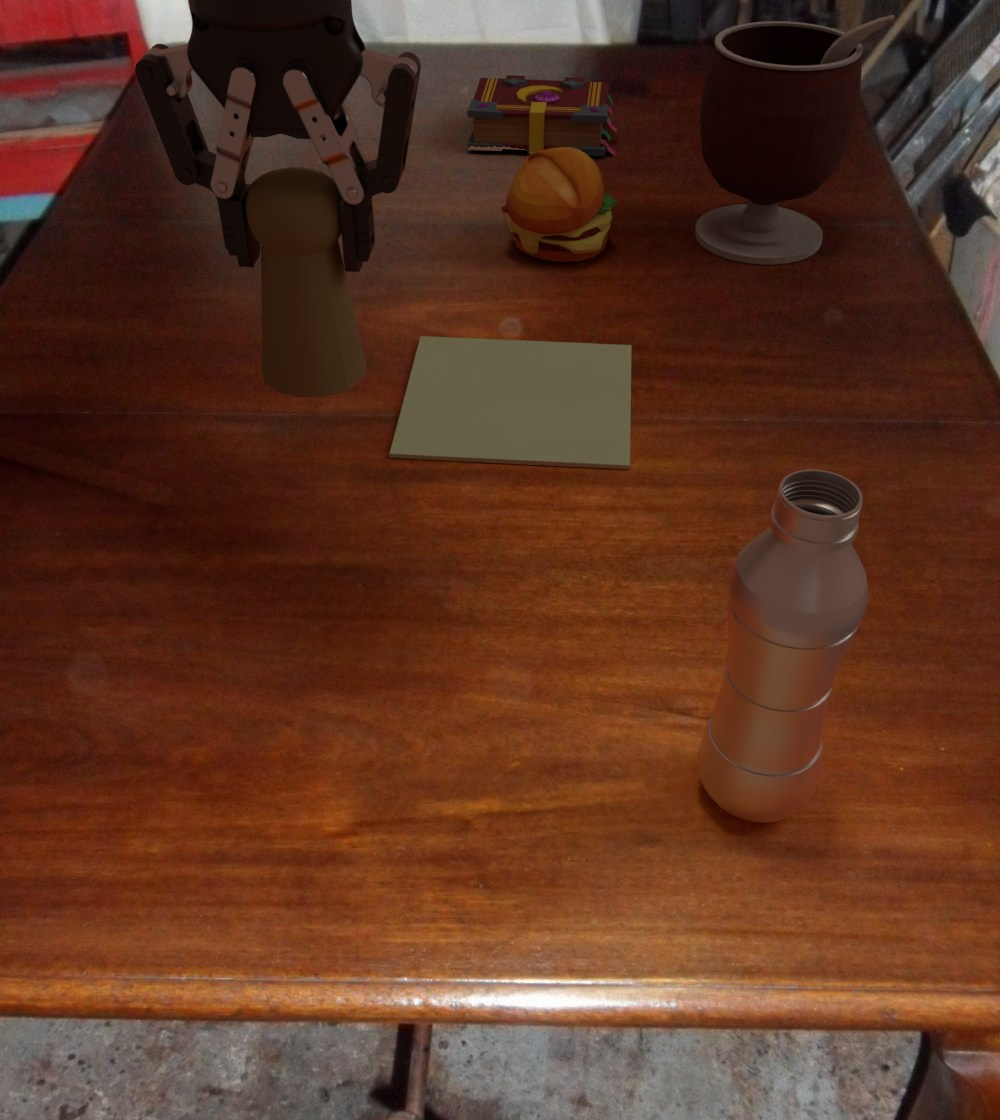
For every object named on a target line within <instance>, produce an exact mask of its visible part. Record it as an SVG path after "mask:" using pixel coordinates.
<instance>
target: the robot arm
mask: <svg viewBox="0 0 1000 1120" xmlns="http://www.w3.org/2000/svg"><path fill="white" fill-rule="evenodd" d="M187 2H188V8H189V11H190V12H189V13H190V16H191V33H190V36H189V39H188V41H187V43H185V44H181V45H177V46H172V47H169V46H168V45H166V44H164V43H155V44H154V45H152V47H151V48H149V49H148V50H147V51H146V52H144V54H143V55H142V56H141V58H140V59H139V61H137V62H136V65H135V67H134V73H135V76H136V79H137V82H138V84H139V86H140V89H141V91H142V95H143V96H144V99H145V102H146V104H147V107H148V110H149V112H150V114H151V117H152V120H153V122H154V125H155V127H156V130H157V132H158V135H159V138H160V141H161V143H162V145H163V147H164V150H165V152H166V156H167V158H168V161H169V163H170V166H171V168H172V171H173V174H174V176H175V178H176V180H177V181H178V182H179V183H181V184H183V185H185V186H192V185H195V184H196V185H199V186H202V187H204V188H206V189H208V190H209V191H211V193H213V195H214V197H215V198H216V201H217V206H218V213H219V219H220V225H221V230H222V231H221V232H222V236H223V243H224V247H225V249H226V251H227V252H228V255H230V256H233V257H234V256H235V257H236V258H237V264H238V266H239V267H240V268H254V267H255V265H256V263H257V261H258V259H259V257H261V244H260V243H259V242H258V241H257V240H256V239H255V237H254V236H253V234H252V231H251V229H250V226H249V224H248V221H247V217H246V211H245V203H246V196H247V194H248V191H249V189H250V187H251V184H252V183H246V177H245V176H246V174H247V173H246V172H247V168H248V163H249V159H250V155H251V150H252V147H253V143H254V140H255V139H256V138H269V137H273V136H278V135H283V136H284V135H285V136H287V137H290V138H294V139H296V140H297V139H298V140H301V139H302V140H311V143H312V145H313V147H314V149H315V151H316V153H317V156H318V157H319V160H320V161H321V163H322V164H323V165H326V167H327V169H328V171H329V173H330V176H331V177H332V178H333V179H334V181H335V183H336V185H337V188H338V190H339V192H340V194H341V196H342V200H341V202H340V204H339V213H340V223H341V243H342V244H341V245H342V253H343V264H344V268H345V273H346V272H347V273H360V271H361V269H362V266H363V264H364V263H365V262H366V263H367V262H369V259H370V257H371V255H372V252H373V250H374V246H375V243H376V235H375V234H376V233H375V224H374V223H375V221H374V206H373V197H374V196H376V195H378V194H382V193H383V194H392V193H393V192H395V191H396V190H397V189H398V186H399V183H400V181H401V178H402V176H403V173H404V171H405V169H406V163H407V158H408V150H409V144H410V139H411V133H412V126H413V119H414V112H415V107H416V100H417V93H418V88H419V82H420V75H421V67H422V63H421V61H420V59H419V57H418V56H417V55H416V54H415V53H414V52H411V51H405V52H402V53H400V54H399V55H398V57H396V56H392V55H388V54H385V53H381V52H377V51H374V50H370V49H366V46H365V42H364V41H363V38H361V36H360V34H359V32H358V30H357V27H356V25H355V24H356V23H355V21H354V15H353V5H352V3H353V2H352V0H187ZM192 71H194V73H195V74H196V75H197V76H198V78H199V79H200V80H201V82H203V84H204V85H205V87H206V88H207V89H208V90H209V91H210V93H211V94H212V95H213V97H214V98H215V99H216V100H217V101H218V103H219V104H220V105H221V107H222V108H223V114H222V119H221V124H220V129H219V133H218V136H217V137H218V138H217V143H216V153H214V152H212V151H210V150H209V148H208V144H207V142H206V139H205V137H204V134H203V131H202V129H201V126H200V123H199V120H198V117H197V115H196V112H195V109H194V107H193V104H192V101H191V99H190V96H189V92H190V91H191V89H192V87H193V76H192ZM360 77H363V78H364V79H365V80H367V81H368V83H369V85H370V88H371V97H372V100H373V102H374V103H375V104H376V105H377V106H379V107H381V108H383V113H382V121H381V127H380V128H381V129H380V135H379V142H378V150H377V157H376V158H375V159H372V160H369V161H367V158H366V155H365V154H364V151H363V148H362V146H361V145H360V142H359V140H358V134H357V133H358V132H357V128H356V125H355V123H354V121H353V119H352V117H351V114H350V112H349V110H348V107H347V105H346V103H345V101H346V99H347V97H348V96H349V95H350V92H351V91H352V89H353V87H354V86H355V84H356V82H357V80H358V79H359V78H360Z"/></svg>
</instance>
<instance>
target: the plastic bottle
mask: <svg viewBox="0 0 1000 1120" xmlns="http://www.w3.org/2000/svg"><path fill="white" fill-rule="evenodd" d="M777 488H778V489H777V491H776V492H777V494H776V497H775V502H774V504H773V505H772V506H771V510H770V514H769V520H768V521H769V527H767V528H765V529H764V530H762V531H761V532H759V533H757V535H755V537H753V538H752V539H751V540H749V541H748V542H747V543H746V544H745V545H744V546H743V547H742V548H741V550H740V551H739V553H738V555H737V557H736V559H735V560H734V562H733V564H732V566H731V568H730V569H729V575H728V585H727V645H726V652H725V653H726V654H725V665H724V672H723V673H724V674H723V678H722V681H721V682H722V683H721V685H720V689H719V692H718V695H717V699H716V702H715V705H714V709H713V712H712V713H711V716H710V718H709V720H708V721H707V724H706V726H705V728H704V731H703V734H702V736H701V739H700V742H699V746H698V752H697V754H698V755H697V756H698V769H699V770H698V771H699V778H700V781H701V784H702V787H703V788H704V790H705V791H706V793H707V795H708V796H709V798H711V799H712V800H713V802H714V803H716V805H717V806H718V807H719V808H720V809H722V810H724V811H725V813H728V814H729V815H732V816H733V817H735V818H737V819H740V820H744V821H747V822H751V823H761V824H767V823H774V822H779V821H783V820H785V819H787V818H790V817H792V816H794V815H797V814H798V813H799V812H800V811H801V810H803V809H804V808H805V807H806V805H807V804H808V803H809V802H810V800H811V798H812V796H813V795H814V792H815V791H816V789H817V788H818V785H819V783H820V780H821V777H822V764H823V733H824V728H825V720H826V714H827V709H828V701H829V698H830V696H831V692H832V691H833V686H834V683H835V680H836V678H837V675H838V673H839V668H840V666H841V663H842V661H843V659H844V657H845V655H846V653H847V651H848V649H849V647H850V645H851V643H852V641H853V638H854V636H855V635H856V633H857V630H858V628H859V626H860V624H861V622H862V619H863V616H864V614H865V611H866V608H867V606H868V603H869V588H868V587H869V586H868V578H867V573H866V570H865V567H864V566H863V563H862V561H861V559H860V556H859V555H858V553H857V551H856V550H855V547H854V546H853V545H852V544H853V542H855V539H856V537H857V535H858V531H859V527H860V525H859V524H860V521H859V518H860V515H861V511H862V508H863V499H864V495H863V493H862V491H861V489H860V488H859V486H858V485H857V484H855V483H854V482H853V481H852V480H850V479H849V478H847V477H845V476H843V475H841V474H838V473H836V472H834V471H833V472H832V471H829V470H825V469H815V468H814V469H813V468H810V469H801V470H797V471H793V472H791V473H789V474H787V475H786V476H784V477H783V478H782V480H781V481H780V484H779V486H778V487H777Z"/></svg>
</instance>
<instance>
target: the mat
mask: <svg viewBox="0 0 1000 1120" xmlns="http://www.w3.org/2000/svg"><path fill="white" fill-rule="evenodd" d="M632 348H633V346H632V344H614V343H592V342H588V343H587V342H568V341H545V340H544V341H543V340H525V339H524V340H521V339H496V338H477V337H476V338H475V337H451V336H429V335H420V337H419V340H418V343H417V348H416V351H415V355H414V360H413V363H412V366H411V371H410V374H409V377H408V383H407V386H406V389H405V392H404V397H403V401H402V403H401V404H402V405H401V408H400V412H399V416H398V420H397V423H396V428H395V431H394V435H393V439H392V442H391V446H390V450H389V458H390V459H404V460H425V461H444V462H445V461H447V462H466V463H468V462H469V463H488V464H504V465H505V464H508V465H509V464H510V465H528V466H547V467H548V466H550V467H568V468H569V467H570V468H586V469H587V468H589V469H591V468H592V469H606V470H607V469H608V470H609V469H610V470H629V471H630V469H631V432H632V431H631V429H632V427H631V426H632V425H631V424H632V421H631V419H632V352H633V351H632Z"/></svg>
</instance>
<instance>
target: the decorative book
mask: <svg viewBox="0 0 1000 1120" xmlns="http://www.w3.org/2000/svg"><path fill="white" fill-rule="evenodd" d="M609 90H610V82H608V81H607V82H605V81H584V78H583V77H572V76H571V77H569V76H568V77H567V76H565V77H564V79H563V80H556V79H555V80H553V79H552V80H551V79H550V80H548V79H526V75H515V74H513V75H512V74H507V75H506V77H505V78H500V77H499V78H498V77H480V78H479V81H478V84H477V87H476V89H475V93H474V95H473V98H471V100H470V101H469V105H468V108H467V110H466V111H467V112H466V114H467V119H473V121H472V122H473V131H471V133H470V135H469V136H470V137H469V140H468V143H467V148H468V147H470V146H474V147H478V146H479V147H488V146H489V147H493V146H496V147H503V146H505V147H511V148H519V149H525V150H529V151H528V153H529V152H537V151H541V150H546V149H551V148H558V147H570V148H575V149H579V150H581V151H582V152H584V153H586V154H587V155H588V156H589V157H590V156H592V157H605V156H606V155H605V154H606V149H607V151H608V152H609V153H610V154H611V155H613V157H616V153H617V152H616V150H614V149H613V148H611V147H610V145H609V144H608V142H607V139H608V141H609V142H610V141H611V135H610V134H609V132H608V131H607V124H608V126H609V128H610V129H611V130H612V131H613V132H614V133H617V132H618V128H617V127H616V126H615V125H613V124H612V118H610V117H609V116H608V114H609V113H610V114H611V115H613V109H612V108H611V107H610V106H609V102H610V105H611V106H613V104H614V103H613V99H612V97H611V95H610V94H609Z"/></svg>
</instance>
